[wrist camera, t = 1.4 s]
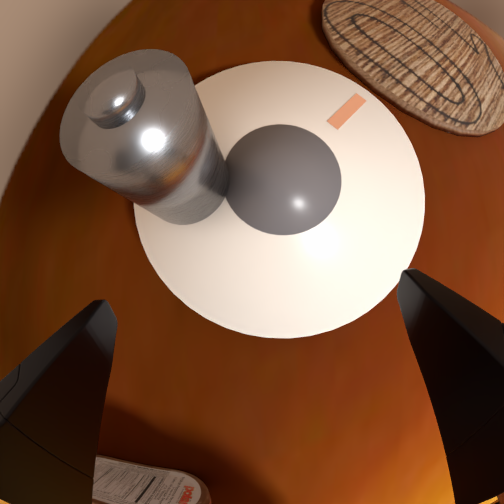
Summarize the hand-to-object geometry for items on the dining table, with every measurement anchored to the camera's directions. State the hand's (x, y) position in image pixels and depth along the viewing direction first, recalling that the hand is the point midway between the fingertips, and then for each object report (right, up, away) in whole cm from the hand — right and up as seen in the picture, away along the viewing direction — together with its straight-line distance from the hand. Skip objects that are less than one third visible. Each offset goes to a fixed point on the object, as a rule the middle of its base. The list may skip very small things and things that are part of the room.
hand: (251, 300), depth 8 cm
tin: (-10, -19, +12) cm, 25 cm away
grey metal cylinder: (-4, +6, +11) cm, 14 cm away
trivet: (+20, +25, +15) cm, 36 cm away
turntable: (+2, +6, +14) cm, 15 cm away
